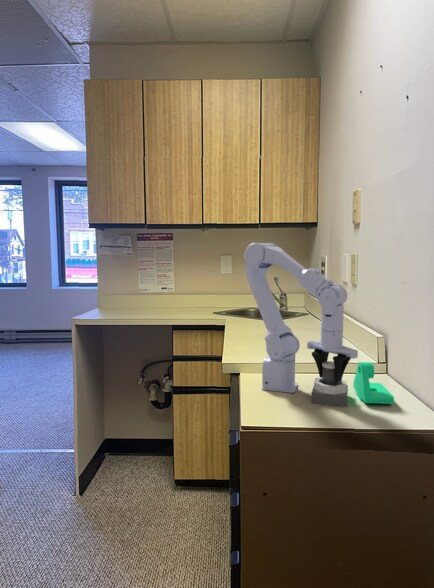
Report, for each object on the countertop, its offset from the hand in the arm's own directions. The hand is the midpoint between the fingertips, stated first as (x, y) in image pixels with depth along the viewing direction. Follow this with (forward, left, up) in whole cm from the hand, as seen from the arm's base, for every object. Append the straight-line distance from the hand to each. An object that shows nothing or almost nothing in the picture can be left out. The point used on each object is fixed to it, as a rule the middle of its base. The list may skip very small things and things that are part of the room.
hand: (330, 378), depth 108 cm
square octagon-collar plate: (0, 0, -6) cm, 6 cm away
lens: (0, 0, -2) cm, 2 cm away
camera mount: (+11, +5, -6) cm, 14 cm away
